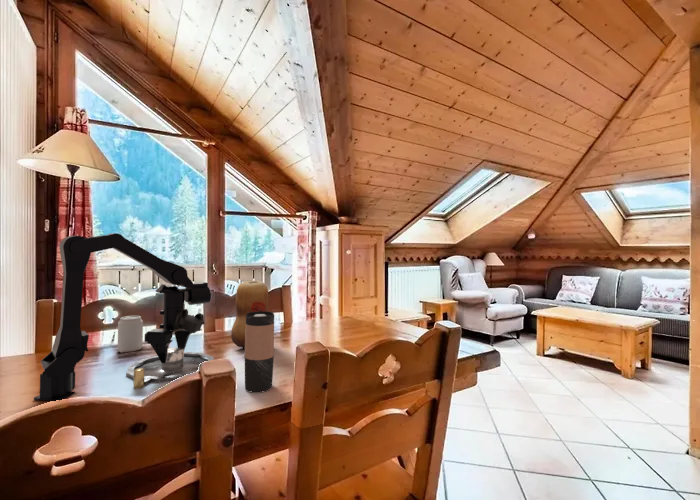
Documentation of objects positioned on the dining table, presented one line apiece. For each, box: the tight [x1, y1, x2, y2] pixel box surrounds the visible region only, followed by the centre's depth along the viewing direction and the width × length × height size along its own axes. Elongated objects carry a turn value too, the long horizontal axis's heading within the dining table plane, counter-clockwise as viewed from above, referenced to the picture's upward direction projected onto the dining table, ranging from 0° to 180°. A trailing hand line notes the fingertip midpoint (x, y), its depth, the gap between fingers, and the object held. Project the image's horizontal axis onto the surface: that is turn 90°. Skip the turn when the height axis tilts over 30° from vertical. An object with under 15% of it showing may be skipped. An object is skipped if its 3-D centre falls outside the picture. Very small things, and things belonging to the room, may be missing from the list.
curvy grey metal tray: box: [125, 351, 215, 390], centre depth 104 cm, size 28×23×5 cm
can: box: [117, 315, 144, 354], centre depth 123 cm, size 8×8×12 cm
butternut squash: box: [230, 279, 269, 349], centre depth 130 cm, size 14×13×25 cm
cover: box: [161, 347, 185, 371], centre depth 106 cm, size 6×6×5 cm
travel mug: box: [244, 310, 275, 393], centre depth 95 cm, size 8×8×20 cm
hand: (172, 357), depth 106 cm, fingers open, 9 cm apart
